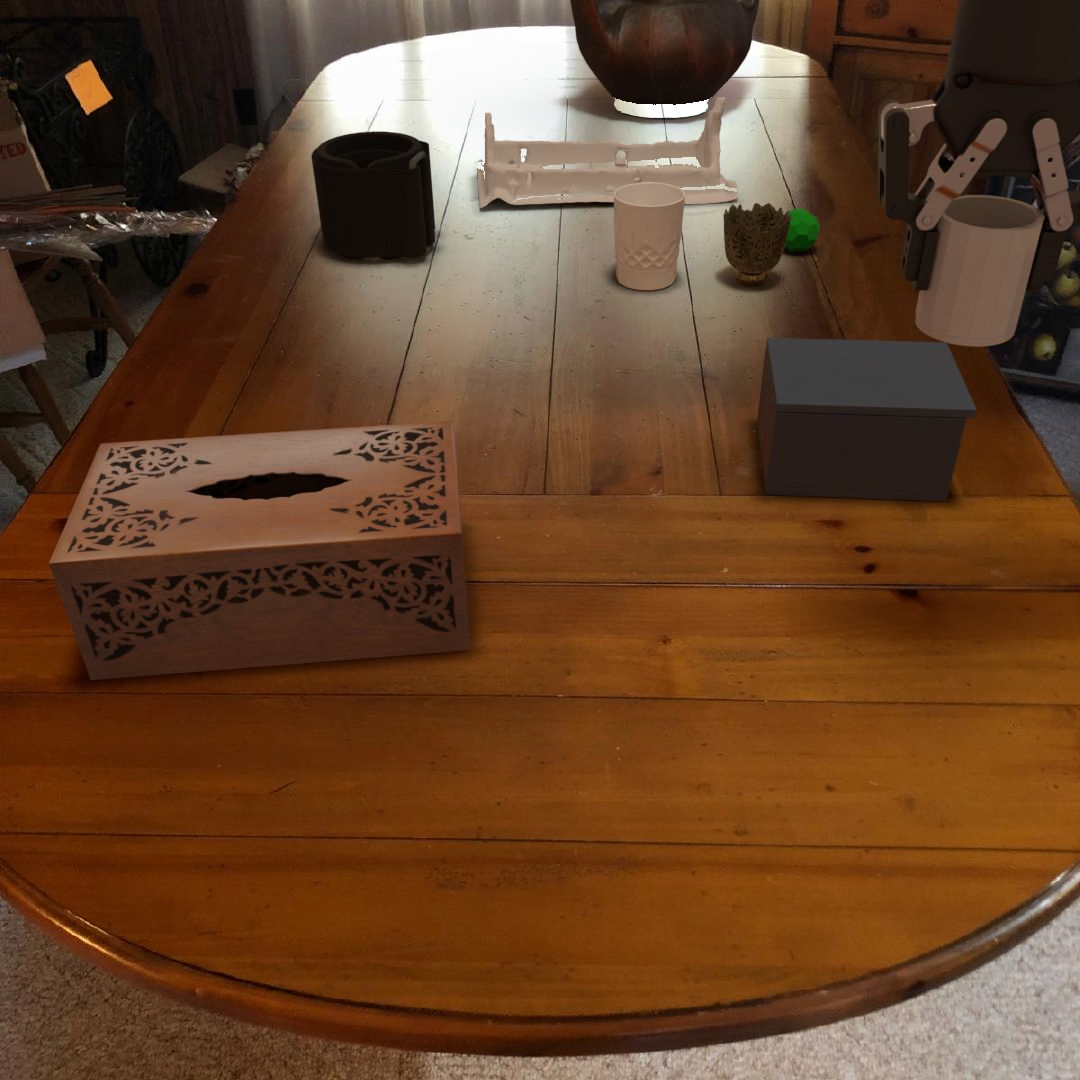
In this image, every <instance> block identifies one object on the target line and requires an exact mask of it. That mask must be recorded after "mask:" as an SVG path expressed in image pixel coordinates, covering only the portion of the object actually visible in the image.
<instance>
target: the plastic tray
mask: <svg viewBox="0 0 1080 1080" xmlns="http://www.w3.org/2000/svg"><path fill="white" fill-rule="evenodd" d="M726 98H727V97H726V96H719V97H716V98H715V103H714V107H712V109H711V110H710V111H709V112H708V114H707V117H706V119H705V122H704V128H703V131H702V132H701V134H700V136H699V138H698V139H695V140H690V141H677V142H676V141H672V140H664V141H657V142H654V143H633V144H623V143H620V142H615V141H600V140H593V141H586V142H581V141H576V142H575V141H550V140H546V141H545V140H509V139H508V140H496V136H495V126H494V124H493V121H492V112H485V114H484V124H485V128H484V160H483V159H479V160H478V161H477V162H483V161H485V163H484V165H482V163H481V165H482V166H483V167H484V171H485V179H484V174H483V173H484V171H483V170H481V169H478V168H477V167H476V170H477V173H476V174H477V180H476V182H477V189H478V198H479V199H478V202H479V204H478V205H479V209H482V208H484V207H486V206H487V205H490V203H491V202H493V201H494V200H497V199H500V200H502V201H504V202H505V203H507V204H510V205H513V206H523V205H544V204H564V203H565V204H566V203H571V204H572V203H591V202H592V203H593V202H594V203H595V202H598V203H614V194H594V195H587V196H581V197H579V198H568V197H565V196H546V197H532V198H528V197H531V196H545V195H556V194H570V196H571V195H577V194H578V193H585V192H586V193H589V192H593V193H594V192H608V193H609V192H615V190H616V189H618V188H619V187H622V186H624V185H628V184H632V183H640V182H657V183H665V184H670V185H673V186H676V187H679V188H683V187H703V186H705V187H707V186H716V185H720V184H721V183H722V184H724V183H725V186H727V187H729V188H732V187H733V188H737V187H738V183H737V182H736V180H733V181H732V180H730V179H726V178H725V176H724V175H723V174H722V173H721V165H720V159H721V158H720V157H721V156H720V155H721V139H720V137H721V136H720V135H721V134H720V133H721V131H722V129H721V127H722V117H723V114H724V109H725V104H726ZM522 150H526V155H522ZM618 152H624V154H625V157H619V156H618V157H616V156H617V154H618ZM521 156H522V157H523V156H524V158H525V161H524V162H521ZM682 157H696V159H697V160H698V162H699V164H700V166H701V167H698V168H697V166H693V164H691V165H688V164H685V165H683V164H673V165H663V166H662V165H659V164H658V166H659V168H655V166H654V165H647V166H628V162H630V161H641V160H655V159H656V160H655V161H656V162H657V159H660V158H682ZM626 160H627V165H626ZM607 162H615V167H607V168H595V165H593V164H592V163H607ZM577 163H590V168H589V169H582V168H576V169H563V168H561V169H544V168H543V167H546V166H549V165H564V164H577ZM626 168H627V169H629V170H626ZM633 168H635V169H633ZM635 178H636V179H635ZM737 189H738V188H737ZM683 191H684V192H685V203H684V205H700V204H701V205H703V204H704V205H706V204H707V205H708V204H715V203H716V204H717V203H725V202H730V201H733V200H737V199H739V194H738V193H739V191H738V192H734V191H728V190H725V189H705V190H683ZM606 196H607V198H605V197H606ZM583 197H585V199H582V198H583ZM518 198H528V199H521V200H517V201H516V199H518ZM558 198H565V199H561V200H557V199H558ZM513 201H515V202H513Z"/></svg>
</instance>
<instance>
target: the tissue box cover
mask: <svg viewBox="0 0 1080 1080" xmlns="http://www.w3.org/2000/svg"><path fill="white" fill-rule="evenodd" d="M455 431H456V430H455V420H443V421H441V420H440V421H427V422H425V421H424V422H411V423H395V424H379V425H378V424H377V425H364V426H350V427H349V426H348V427H336V428H335V427H333V428H332V427H331V428H322V429H321V428H320V429H319V428H318V429H303V430H302V429H301V430H287V431H286V430H285V431H273V432H271V431H269V432H255V433H240V434H226V435H212V436H210V435H208V436H196V437H180V438H166V439H165V438H162V439H151V440H150V439H149V440H148V439H147V440H132V441H119V442H116V441H115V442H103V443H99V446H98V448H97V451H96V453H95V456H94V457H93V460H92V462H91V465H90V467H89V469H88V471H87V474H86V476H85V479H84V482H83V483H82V485H81V487H80V490H79V493H78V495H77V497H76V500H75V502H74V504H73V507H72V509H71V511H70V513H69V516H68V518H67V521H66V523H65V525H64V527H63V530H62V532H61V535H60V536H59V539H58V541H57V544H56V546H55V549H54V550H53V553H52V555H51V558H50V560H49V562H48V565H49V567H50V571H51V573H52V576H53V579H54V582H55V584H56V587H57V590H58V592H59V595H60V598H61V601H62V604H63V607H64V609H65V612H66V615H67V618H68V620H69V624H70V626H71V629H72V632H73V634H74V637H75V640H76V643H77V646H78V648H79V651H80V654H81V657H82V660H83V663H84V665H85V668H86V671H87V673H88V676H89V680H90V681H96V680H99V681H100V680H111V679H122V678H135V677H148V676H158V675H159V676H160V675H161V676H162V675H171V674H172V675H173V674H186V673H199V672H210V671H223V670H236V669H247V668H248V669H249V668H260V667H273V666H274V667H275V666H287V665H288V666H289V665H299V664H311V663H313V664H314V663H323V662H325V663H327V662H336V661H337V662H339V661H348V660H349V661H350V660H351V661H352V660H361V659H373V658H387V657H401V656H411V655H413V656H414V655H425V654H426V655H427V654H437V653H439V654H440V653H450V652H451V653H453V652H462V651H463V652H464V651H471V641H470V626H469V625H470V624H469V613H468V597H467V584H466V568H465V557H464V543H463V541H464V540H463V529H462V514H461V501H460V489H459V488H460V487H459V485H460V484H459V473H458V460H457V459H458V458H457V446H456V445H457V444H456V433H455Z"/></svg>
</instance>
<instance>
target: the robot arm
mask: <svg viewBox="0 0 1080 1080" xmlns="http://www.w3.org/2000/svg"><path fill="white" fill-rule="evenodd" d="M931 123H934V125H935V127H936V128H937V130H938V132H939V134H940V136H941V138H942V140H943V142H944V143H943V145H942V146H941V148H940V149H939V150H938V152H937V154H936V155H935V157H934V158H933V160H932V161H931V162H930V165H929V166H928V169H927V173H926V176H924V177H925V178H924V179H923V180H922V182H921V183H920V185H919V187H918V188H917V189H916V190H915V192H914V193H911V192H909V169H910V168H909V166H910V165H909V163H910V162H909V161H910V147H912V146H915V145H916V144H917V143H918V142H919V141H920V140H921V138H922V135H923V130H924V129H925V127H926V126H927V125H928V124H931ZM1079 135H1080V0H958V4H957V9H956V14H955V20H954V25H953V30H952V36H951V41H950V47H949V51H948V58H947V62H946V69H945V74H944V77H943V80H942V82H941V84H940V85H939V87H938V89H937V90H936V91H935V92H934V94H933V96H932V97H931V99H926V100H921V101H913V102H906V103H900V102H899V101H897V100H895V99H888V100H885V101H884V102H883V103H882V104H880V106H879V109H878V158H877V159H878V161H877V162H878V166H877V167H878V173H877V175H878V178H877V179H878V181H877V183H878V184H877V185H878V188H877V189H878V190H877V193H878V194H877V195H878V201H879V203H880V205H881V206H882V207H883V210H884V214H885V215H886V217H887V218H888V219H890V220H892V221H898V220H900V221H903V222H905V223H907V226H906V232H905V237H904V243H903V248H902V254H901V257H900V258H901V259H900V266H901V270H902V274H903V276H904V278H905V280H906V281H907V282H909V284H910V285H911V288H912V290H913V291H916V292H917V291H918V292H919V291H926V290H927V289H928V286H929V281H930V276H931V271H932V266H933V261H934V256H935V251H936V246H937V241H938V236H939V231H938V229H937V228H936V226H935V225H936V224H937V223H938V221H939V220H940V218H941V217H942V215H943V214H944V213H945V211H946V210H947V208H948V207H949V205H950V204H951V202H952V201H953V200H954V199H955V198H957V197H959V196H962V195H963V192H964V191H965V190H966V188H967V187H968V186H969V184H970V182H971V181H972V180H973V179H990V178H994V177H999V176H1004V175H1005V176H1008V177H1012V178H1015V179H1029V180H1030V183H1031V186H1032V189H1033V193H1034V197H1035V202H1036V206H1037V209H1039V210H1040V211H1041V212H1042V214H1043V215H1044V216H1045V219H1044V223H1043V227H1042V230H1041V234H1040V238H1039V242H1038V246H1037V250H1036V254H1035V258H1034V262H1033V266H1032V269H1031V273H1030V277H1029V281H1028V285H1027V289H1026V292H1041V291H1042V288H1043V284H1044V283H1051V281H1052V280H1053V278H1054V276H1055V275H1056V272H1057V268H1058V264H1059V261H1060V257H1061V254H1062V250H1063V246H1064V243H1065V240H1066V236H1067V233H1068V231H1069V230H1070V229H1071V227H1073V226H1074V225H1076V224H1078V223H1080V180H1079V181H1078V184H1077V186H1076V188H1075V191H1073V192H1069V187H1070V186H1069V181H1068V177H1067V173H1066V168H1065V167H1066V166H1065V163H1064V158H1063V151H1065V150H1066V149H1067V148H1068V147H1069V146H1070V145H1071V144H1072V142H1074V141H1075V140H1076V139H1077V138H1078V137H1079Z"/></svg>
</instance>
